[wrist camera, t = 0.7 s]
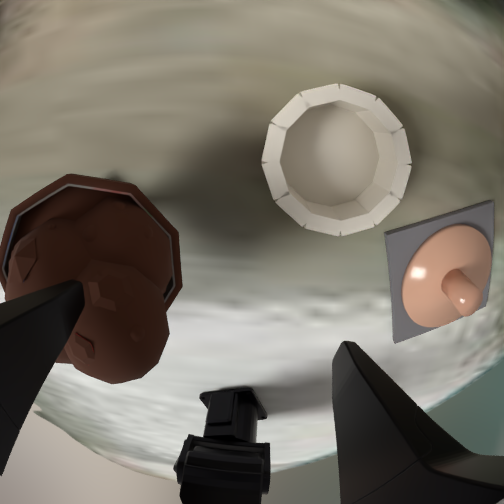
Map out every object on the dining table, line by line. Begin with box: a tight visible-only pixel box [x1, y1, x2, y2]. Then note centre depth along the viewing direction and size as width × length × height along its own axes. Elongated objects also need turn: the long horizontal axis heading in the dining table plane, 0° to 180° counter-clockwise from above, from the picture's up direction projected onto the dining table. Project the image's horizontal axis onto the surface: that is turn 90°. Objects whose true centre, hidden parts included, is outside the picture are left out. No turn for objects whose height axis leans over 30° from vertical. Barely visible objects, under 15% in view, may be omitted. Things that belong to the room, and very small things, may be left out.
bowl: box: [262, 84, 412, 236], centre depth 17 cm, size 9×9×4 cm
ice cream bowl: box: [0, 174, 183, 384], centre depth 15 cm, size 11×11×15 cm
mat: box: [384, 200, 494, 343], centre depth 22 cm, size 12×12×1 cm
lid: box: [401, 224, 492, 327], centre depth 20 cm, size 10×10×4 cm
